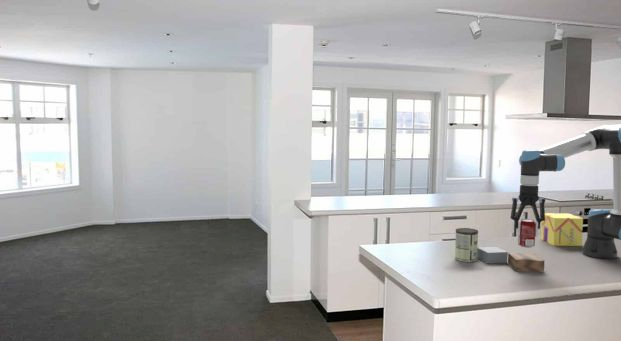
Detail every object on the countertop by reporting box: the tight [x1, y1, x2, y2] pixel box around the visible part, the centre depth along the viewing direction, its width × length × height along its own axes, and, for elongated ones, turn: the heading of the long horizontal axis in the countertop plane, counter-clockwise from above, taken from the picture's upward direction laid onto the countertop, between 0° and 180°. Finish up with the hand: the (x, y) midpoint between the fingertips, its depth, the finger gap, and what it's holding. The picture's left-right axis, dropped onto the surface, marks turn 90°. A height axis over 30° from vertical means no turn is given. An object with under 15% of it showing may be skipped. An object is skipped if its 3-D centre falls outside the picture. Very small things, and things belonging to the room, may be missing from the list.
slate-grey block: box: [477, 246, 509, 264], centre depth 234 cm, size 10×10×5 cm
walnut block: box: [507, 252, 545, 273], centre depth 221 cm, size 12×12×5 cm
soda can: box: [517, 218, 536, 249], centre depth 220 cm, size 7×7×12 cm
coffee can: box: [454, 227, 479, 263], centre depth 235 cm, size 10×10×14 cm
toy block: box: [540, 212, 584, 247], centre depth 271 cm, size 15×15×15 cm
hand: (526, 235), depth 220 cm, fingers closed on soda can, 7 cm apart
